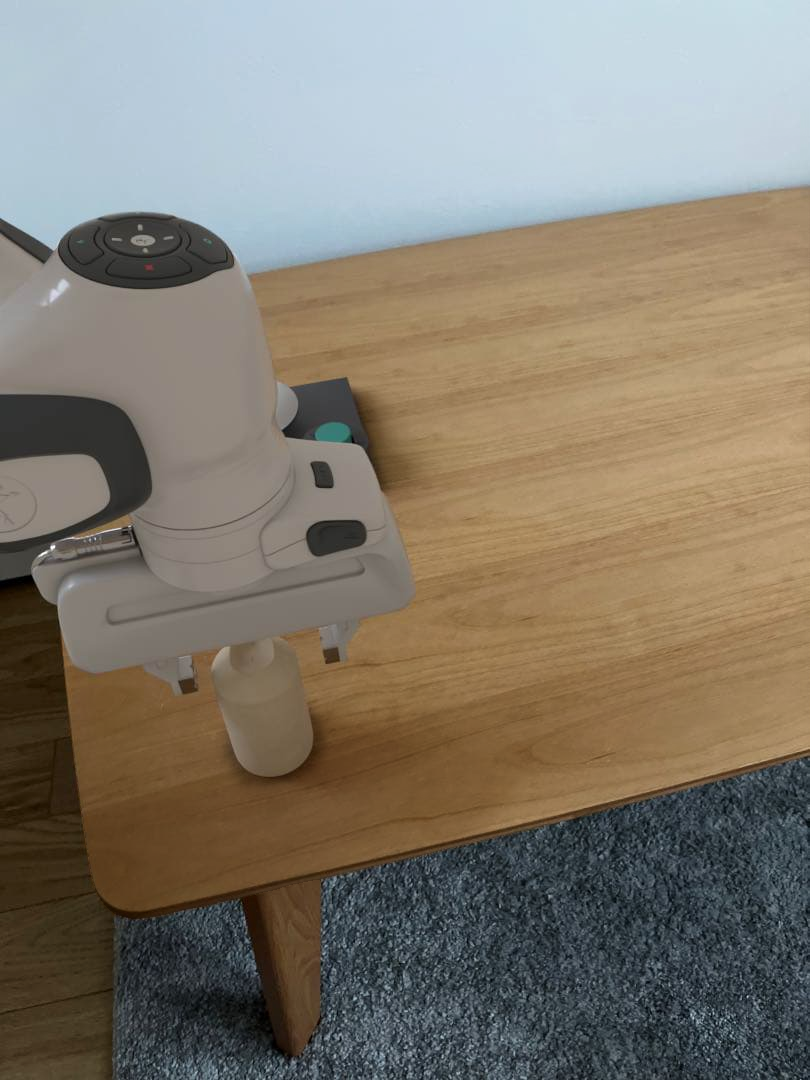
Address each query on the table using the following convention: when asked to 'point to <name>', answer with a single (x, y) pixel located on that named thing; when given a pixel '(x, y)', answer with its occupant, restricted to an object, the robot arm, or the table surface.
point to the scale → (327, 411)
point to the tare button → (334, 433)
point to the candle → (264, 705)
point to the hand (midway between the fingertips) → (261, 670)
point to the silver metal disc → (286, 407)
